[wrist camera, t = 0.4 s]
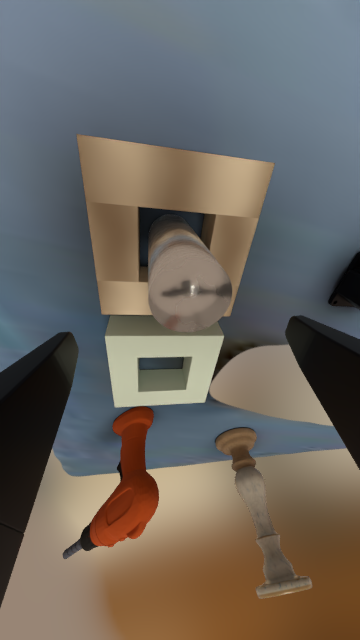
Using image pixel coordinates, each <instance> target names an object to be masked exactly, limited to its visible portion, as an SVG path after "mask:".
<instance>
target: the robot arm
mask: <svg viewBox="0 0 360 640" xmlns="http://www.w3.org/2000/svg"><path fill="white" fill-rule="evenodd" d="M329 304H330V305H331V306H350V307H356V308H358V309H359V310H360V252H359V253H358V254H357V255H356V257H355V259H354V260H353V262H352V264H351V265H350V267H349V269H348V270H347V272H346V274H345V275H344V277H343V279H342V280H341V282H340V284H339V285H338V287H337V289H336V290H335V292H334V294H333V295H332V297H331V299H330V300H329ZM285 335H286V338H287V341H288V343H289V345H290V347H291V349H292V352H293V354H294V356H295V358H296V361H297V363H298V365H299V367H300V368H301V370H302V372H303V374H304V376H305V377H306V379H307V381H308V382H309V384H310V386H311V388H312V389H313V391H314V393H315V394H316V396H317V398H318V399H319V401H320V403H321V405H322V406H323V408H324V410H325V411H326V413H327V415H328V417H329V418H330V420H331V422H332V423H333V425H334V427H335V429H336V430H337V432H338V434H339V435H340V437H341V439H342V441H343V442H344V444H345V446H346V447H347V449H348V451H349V452H350V454H351V456H352V458H353V459H354V461H355V463H356V464H357V466H358V468H359V470H360V339H357V338H355V337H353V336H350V335H348V334H345V333H343V332H341V331H338V330H336V329H333V328H331V327H329V326H326V325H324V324H321V323H319V322H317V321H314V320H312V319H310V318H307V317H305V316H301V315H300V316H292V317H291V318H290V320H289V323H288V326H287V328H286V331H285ZM78 352H79V350H78V346H77V343H76V341H75V338H74V336H73V334H72V333H71V332H60V333H58V334H56V335H55V336H53V337H52V338H51V339H49V340H48V341H46V342H45V343H43V344H42V345H40V346H39V347H37V348H36V349H34V350H33V351H31V352H30V353H28V354H27V355H25V356H24V357H22V358H21V359H19V360H18V361H17V362H15V363H14V364H12V365H11V366H9V367H8V368H6V369H5V370H3V371H2V372H0V607H1V604H2V601H3V598H4V595H5V592H6V589H7V586H8V583H9V579H10V577H11V573H12V570H13V567H14V564H15V561H16V558H17V555H18V552H19V548H20V546H21V543H22V539H23V537H24V534H23V533H24V532H25V530H26V527H27V523H28V520H29V517H30V514H31V511H32V508H33V505H34V502H35V499H36V496H37V492H38V490H39V487H40V483H41V480H42V477H43V474H44V471H45V467H46V465H47V462H48V459H49V456H50V453H51V450H52V446H53V443H54V440H55V437H56V434H57V431H58V428H59V425H60V422H61V419H62V416H63V413H64V409H65V406H66V403H67V400H68V397H69V394H70V391H71V387H72V383H73V378H74V373H75V368H76V363H77V358H78Z"/></svg>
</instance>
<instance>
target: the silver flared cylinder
mask: <svg viewBox="0 0 360 640" xmlns="http://www.w3.org/2000/svg"><path fill="white" fill-rule="evenodd" d="M231 298H232V284H231V281H230V278H229V276H228V275H227V273H226V272H225V270H224V269H223V268H222V266H221V265H220V264H219V263H218V261H217V260H216V259H215V257H214V256H213V255H212V253H211V252H210V251H209V250H208V248H207V247H206V246H205V244H204V243H203V242H202V241H201V239H200V238H199V237H198V235H197V234H196V233H195V232H194V230H193V229H192V228H191V226H190V225H189V224H188V223H187V221H186V220H185V219H183V218H182V217H180V216H178V215H174V214H166V215H163V216H161V217H159V218H158V219H156V220H155V221H154V222H153V224H152V225H151V227H150V230H149V235H148V303H149V308H150V310H151V313H152V315H153V316H154V318H155V319H156V320H157V321H158V322H159V323H160V324H161V325H163V326H164V327H166V328H168V329H170V330H173V331H177V332H195V331H199V330H202V329H205V328H207V327H209V326H211V325H213V324H214V323H215V322H217V321H218V320H219V319H220V318H221V317H222V316H223V315H224V314H225V312H226V311H227V309H228V307H229V305H230V302H231Z"/></svg>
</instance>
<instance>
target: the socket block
mask: <svg viewBox="0 0 360 640" xmlns="http://www.w3.org/2000/svg"><path fill="white" fill-rule="evenodd" d="M77 141H78V148H79V155H80V162H81V169H82V177H83V184H84V191H85V198H86V205H87V212H88V219H89V226H90V234H91V241H92V248H93V255H94V262H95V269H96V276H97V283H98V290H99V298H100V305H101V312H102V314H112V315H152V313H151V310H150V308H149V303H148V267H142V266H140V209H139V207H147V208H157V209H167V210H178V211H188V212H198V213H204V220H203V226H202V233H201V241H202V242H203V243H204V244H205V246H206V247H207V248H208V250H209V251H210V252H211V253H212V255H213V256H214V257H215V259H216V260H217V261H218V263H219V264H220V265H221V266H222V268H223V269H224V270H225V272H226V273H227V275H228V276H229V278H230V281H231V284H232V298H231V302H230V305H229V307H228V309H227V311H226V312H225V314H224V315H223V316H230V314H231V311H232V308H233V304H234V301H235V297H236V294H237V291H238V287H239V284H240V280H241V277H242V273H243V270H244V267H245V263H246V260H247V256H248V253H249V250H250V246H251V243H252V239H253V236H254V233H255V229H256V226H257V222H258V219H259V216H260V212H261V209H262V205H263V202H264V199H265V195H266V192H267V188H268V185H269V181H270V178H271V175H272V171H273V168H274V164H275V163H270V162H263V161H256V160H249V159H243V158H236V157H229V156H222V155H215V154H208V153H202V152H195V151H188V150H181V149H174V148H168V147H161V146H154V145H147V144H140V143H133V142H127V141H120V140H113V139H106V138H99V137H92V136H86V135H79V134H77Z"/></svg>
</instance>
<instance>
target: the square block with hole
mask: <svg viewBox="0 0 360 640" xmlns="http://www.w3.org/2000/svg"><path fill="white" fill-rule="evenodd" d="M223 338H224V334H223V332H222V330H221V328H220V326H219V323H218V321H217V322H215V323H214V324H213V325H211V326H209V327H207V328H205V329H202V330H199V331H195V332H177V331H173V330H170V329H168V328H166V327H164V326H163V325H161V324H160V323H159V322H158V321H157V320H156V319H155V318H154V316H117V315H110V319H109V322H108V326H107V330H106V334H105V340H106V347H107V355H108V362H109V369H110V376H111V383H112V390H113V397H114V404H115V407H130V406H148V405H166V404H184V403H202V402H205V400H206V396H207V393H208V389H209V386H210V383H211V379H212V376H213V372H214V369H215V365H216V362H217V359H218V355H219V352H220V348H221V345H222V342H223ZM143 357H184V362H183V368H182V369H157V370H139V358H143Z"/></svg>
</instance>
